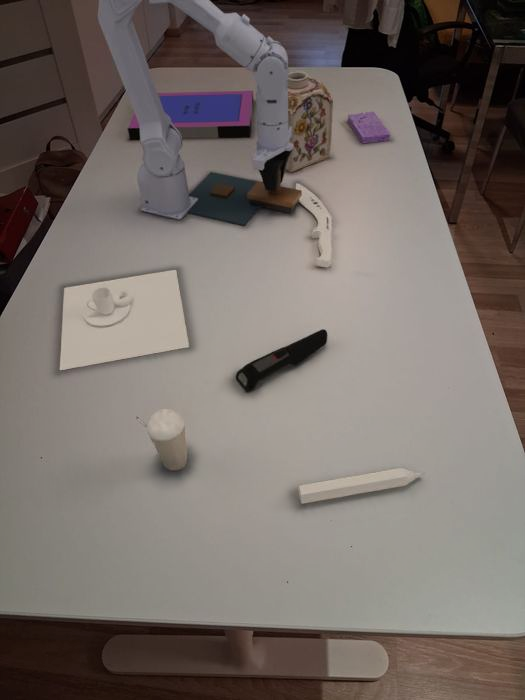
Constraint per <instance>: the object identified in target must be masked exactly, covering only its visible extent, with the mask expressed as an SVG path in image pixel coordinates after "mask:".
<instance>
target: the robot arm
mask: <svg viewBox="0 0 525 700" xmlns="http://www.w3.org/2000/svg"><path fill="white" fill-rule="evenodd" d="M141 2H143V0H99V1H98V9H97V19H98V23H99V26H100V28H101V31H102V34H103V36H104V39H105V42H106V44H107V46H108V49H109V51H110V54H111V57H112V59H113V62H114V64H115V67H116V69H117V72H118V75H119V78H120V79H121V82H122V85H123V88H124V90H125V92H126V95H127V97H128V99H129V102H130V106H131V108H132V110H133V112H134V113H135V115H136V118H137V120H138V123H139V127H140V140H139V141H140V145H141V149H142V153H143V154H142V162H143V163H142V164H141V165H140V167H139V169H138V171H137V186H138V190H139V194H140V199H141V204H142V207H141V209H140V210H141V212H145V213H148V214H153V215H157V216H162V217H165V218H170V219H174V220H179V221H180V220H182V219H183V218H184V217H185V216H186V214H188V213H187V212H188V210H189V209H190V208H191V207H192V206H193V205H194V204H195V203H196V202H197V201H198V198H194V197H190V196H189V194H190V193H189V185H188V180H187V172H186V165H185V161H184V159H183V158H182V156H181V155H180V152H181V150H182V147H183V143H184V139H182V136H181V134H180V132H179V131H178V130H177V129H176V128H175V127H174V125H173V124H172V121H171V119H170V117H169V116H168V115H167V114H166V113H165V112H164V110H163V107H162V104H161V101H160V98H159V95H158V93H159V92H158V90H157V87H156V84H155V82H154V78H153V76H152V73H151V70H150V67H149V64H148V62H147V59H146V56H145V53H144V49H143V46H142V45H141V41H140V39H139V36H138V33H137V30H136V28H135V25H134V21H133V17H134V15H135V13H136V10H137V9H138V6H139V5H140V3H141ZM148 3H149V4H165V3H170V4H172V5H173V6H175V7H176V8H177V9H179V10H180V11H181V12H183V13H184V14H186V15H187V16H188V17H190V18H192V19H193V20H194V21H196V22H197V23H199V24H200V25H201V26H203V27H204V28H206V29H207V30H208V31H209V32H210V33H212V34H213V35H214V41H215V45H216V47H217V48H219V49H220V50H221V51H223V52H224V53H225V54H226V55H228V56H229V58H231V59H233V60H234V61H235V62H237V63H238V64H239V65H241V66H242V67H243V68H244V69H245V70H246V71H249V72H252V74H253V79H254V81H255V83H256V92H255V109H256V132H257V140H256V144H255V150H254V156H253V157H252V158H251V163H252V169H253V170H258V172H259V174H260V177H261V179H262V182H263V183H264V186H265V189H266V190H269V191H273V192H275V191H276V188H277V183H278V174H279V170H280V169H281V184H282V183H283V181H284V177H285V173H286V172H285V171H286V169H285V168H286V164H287V161H288V158H289V156H290V154H291V152H292V150H293V147H294V144H293V143H290V142H289V139H290V138H291V136H292V127H290V126H288V92H287V80H288V76H289V73H290V71H289V56H288V52H287V51H286V49H285V47H284V46H282V44H281V41H278V40H274V39H273V38H272V37H271V36H269V35H268V36H267V37H266V36H265V35H264V34H263V33H261V32H260V31H259V30H258V29H257V28H255V27H254V26H253V25H251V23H250V22H251V21H250V20H251V18H249V16H247V15H246V14H245V13H243V14H242V16H241V15H240V14H238V13H237V12H230V13H229V12H228V13H224V11H222V10H221V9H220V8H219V7H217V6H216V5H215V4H214V3H213V2H212V1H211V0H149V1H148ZM134 113H133V114H134Z"/></svg>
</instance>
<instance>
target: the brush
mask: <svg viewBox="0 0 525 700" xmlns="http://www.w3.org/2000/svg"><path fill="white" fill-rule="evenodd" d="M262 182H263V181H258V182H256V183H255V185H254V186H253V187H252V188H251V189H250V190H249V192H248V193H247V198H248V199H250V204H252V205H256V206H260V208H267V209H270V210H275V211H281V212H285V213H289V214H292V213H293V212H294V210H295V208H296V207H297V206H298V204H299V203H300V202H299V198H300V197H301V196H302V190H297V189H295V188H291V187H286V186H283V185H281V184H282V183H281V169H280V170H279V174H278V183H277V188H276V191H275V192H273V191H269V190H266V189H265V186H264V183H262Z"/></svg>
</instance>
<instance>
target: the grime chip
mask: <svg viewBox="0 0 525 700" xmlns="http://www.w3.org/2000/svg"><path fill="white" fill-rule="evenodd" d="M234 190H235V187H234V186H229V185H224V184H219V183H218V184H217V185H216V186H215V187H214V188H213V190H212V191H211V192H210V196H215V197H219V198H224V199H227V198H228V197H229V196H230V195H231V194H232V193H233V191H234Z"/></svg>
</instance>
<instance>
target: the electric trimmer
mask: <svg viewBox="0 0 525 700" xmlns="http://www.w3.org/2000/svg"><path fill="white" fill-rule="evenodd" d="M327 342H328V331H327V330H326V329H320V330H317V331H315V332H313V333H311V334H309V335H307V336H305V337H303V338H301V339H298V340H297V341H294V342H292V343H290V344H288V345H286V346H284V347H280V348H278V349H276V350H274V351H271V352H269V353H267V354H265V355H263V356H260V357H259V358H257V359H254V360H252V361H250V362H248V363H247V364H245V365H244V366H243V367H242V368H240V369H239V370H238V371H237V372H236V374H235V380H236V382H237V384H239V386H240V387H241V389H243V391H244V392H247V391H253V390H254V389H255V388H256V386H258V385H257V384H258V383H259V382H261V381H263V380H265V379H266V378H268V377H270V376H271V375H272V376H273V374H275V373H277V372H279V371H281V370H283V369H285V368H286V367H288V366H295V367H296V366H298V365H299V364H301V363H303V362H304V361H305V360H306V359H308V358H310V357H311V356H312V355H313V354H315V353H316V352H318V351H319V350H320V349H322V348H323V347H325V346H326V344H327Z"/></svg>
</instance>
